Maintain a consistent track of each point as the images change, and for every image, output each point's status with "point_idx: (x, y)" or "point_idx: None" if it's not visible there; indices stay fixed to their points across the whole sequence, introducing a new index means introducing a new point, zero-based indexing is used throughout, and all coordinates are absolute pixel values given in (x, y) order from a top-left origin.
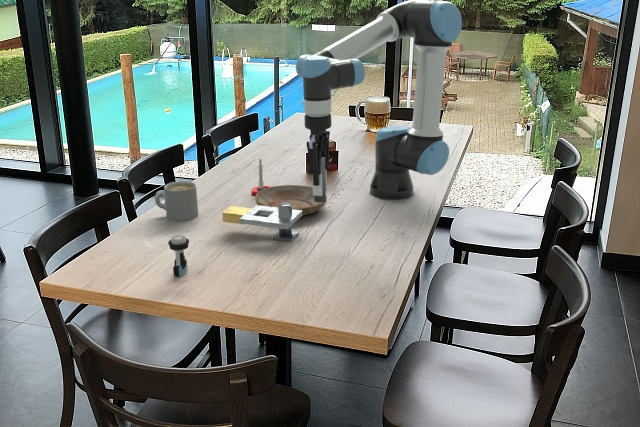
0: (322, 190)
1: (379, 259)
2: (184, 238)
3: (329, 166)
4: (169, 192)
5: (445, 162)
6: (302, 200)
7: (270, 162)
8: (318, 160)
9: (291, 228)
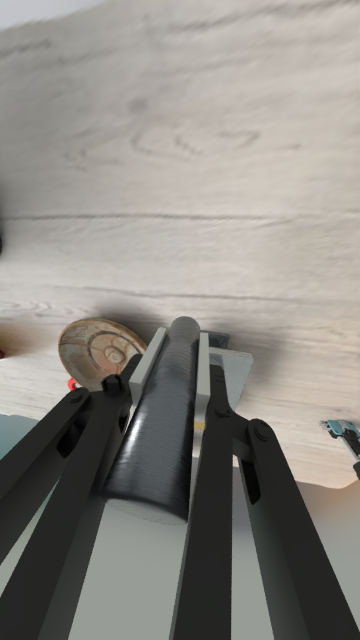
0: (194, 340)
1: (320, 120)
2: None
3: (104, 380)
4: None
5: None
6: (88, 348)
7: (10, 392)
8: (230, 534)
9: (214, 345)
